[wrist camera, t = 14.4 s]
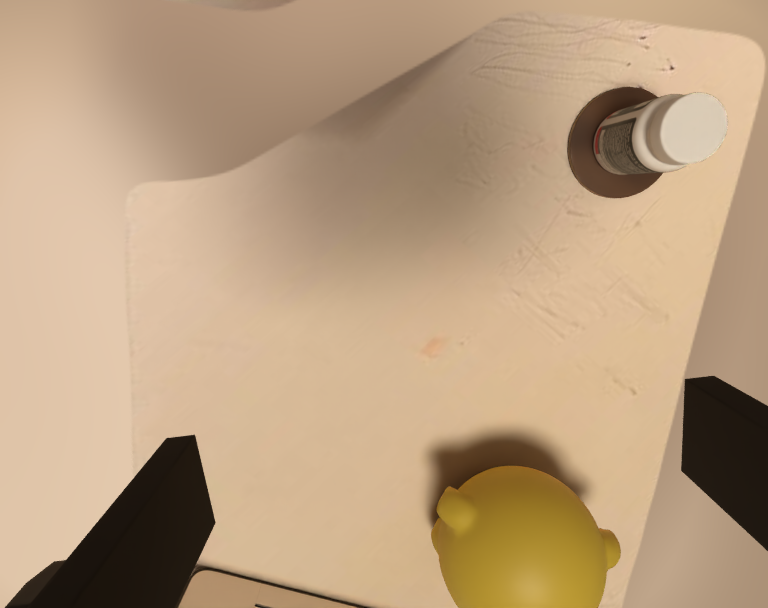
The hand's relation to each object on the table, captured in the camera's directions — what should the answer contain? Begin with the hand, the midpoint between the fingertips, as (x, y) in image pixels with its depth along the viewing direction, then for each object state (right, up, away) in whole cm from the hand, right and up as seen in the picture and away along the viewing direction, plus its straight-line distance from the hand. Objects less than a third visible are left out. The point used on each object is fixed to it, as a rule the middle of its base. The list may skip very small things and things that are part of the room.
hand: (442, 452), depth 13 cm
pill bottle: (+16, +16, +23) cm, 33 cm away
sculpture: (+9, -14, +31) cm, 35 cm away
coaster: (+16, +16, +24) cm, 33 cm away
